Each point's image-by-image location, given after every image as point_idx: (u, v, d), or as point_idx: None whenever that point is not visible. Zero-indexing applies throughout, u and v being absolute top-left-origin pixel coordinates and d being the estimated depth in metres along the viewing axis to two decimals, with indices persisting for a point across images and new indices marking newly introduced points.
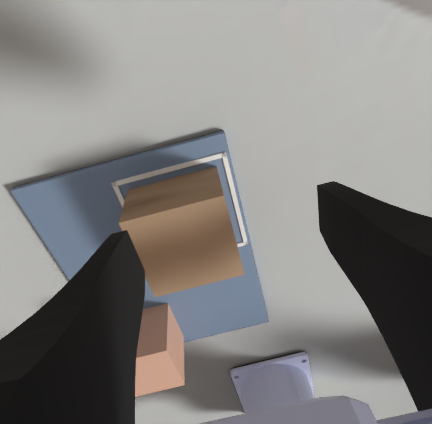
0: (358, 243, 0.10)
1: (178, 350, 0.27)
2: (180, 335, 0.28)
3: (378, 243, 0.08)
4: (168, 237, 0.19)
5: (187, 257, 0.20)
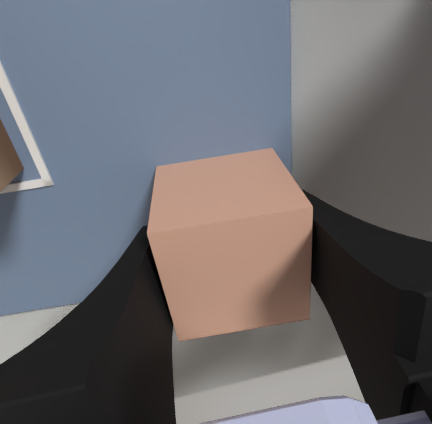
0: (319, 252, 0.10)
1: (240, 183, 0.10)
2: (248, 158, 0.12)
3: (333, 253, 0.08)
4: None
5: None
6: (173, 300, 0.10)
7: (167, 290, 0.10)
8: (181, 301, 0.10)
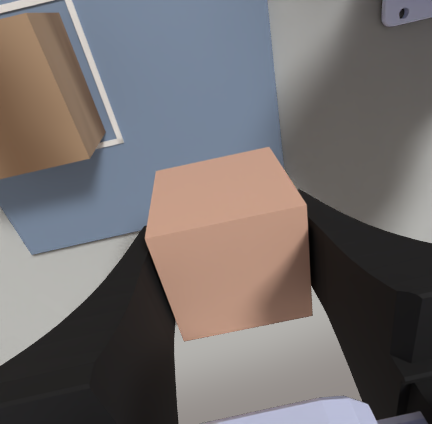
0: (316, 253, 0.10)
1: (237, 184, 0.11)
2: (245, 158, 0.12)
3: (330, 254, 0.08)
4: None
5: (5, 109, 0.14)
6: (175, 302, 0.10)
7: (169, 292, 0.10)
8: (184, 302, 0.10)
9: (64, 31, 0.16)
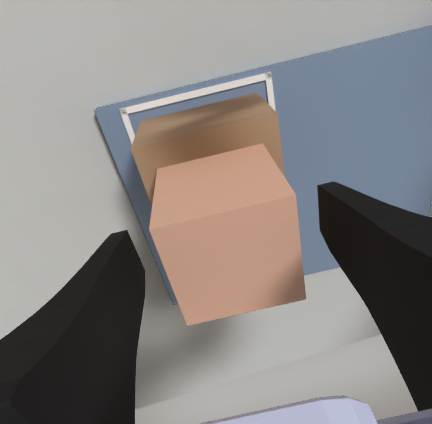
0: (358, 243, 0.10)
1: (232, 178, 0.11)
2: (240, 154, 0.13)
3: (378, 243, 0.08)
4: None
5: None
6: (178, 288, 0.11)
7: (172, 279, 0.11)
8: (186, 288, 0.11)
9: None
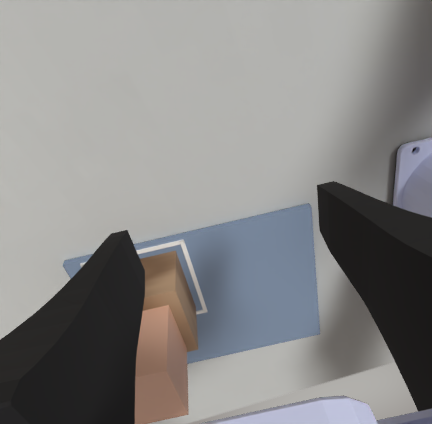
0: (358, 243, 0.10)
1: (139, 344, 0.19)
2: (151, 316, 0.20)
3: (378, 243, 0.08)
4: None
5: None
6: None
7: None
8: None
9: (178, 261, 0.24)
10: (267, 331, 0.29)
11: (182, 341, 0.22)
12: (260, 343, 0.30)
